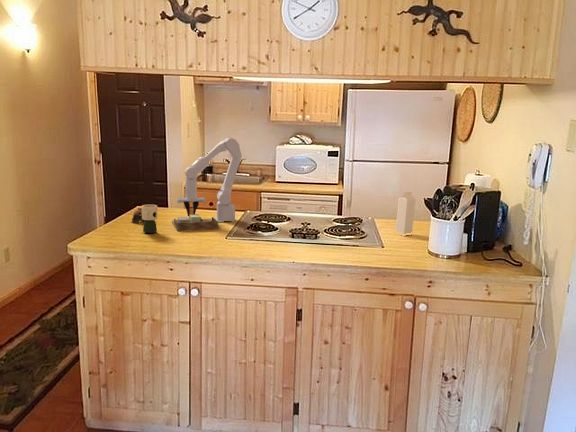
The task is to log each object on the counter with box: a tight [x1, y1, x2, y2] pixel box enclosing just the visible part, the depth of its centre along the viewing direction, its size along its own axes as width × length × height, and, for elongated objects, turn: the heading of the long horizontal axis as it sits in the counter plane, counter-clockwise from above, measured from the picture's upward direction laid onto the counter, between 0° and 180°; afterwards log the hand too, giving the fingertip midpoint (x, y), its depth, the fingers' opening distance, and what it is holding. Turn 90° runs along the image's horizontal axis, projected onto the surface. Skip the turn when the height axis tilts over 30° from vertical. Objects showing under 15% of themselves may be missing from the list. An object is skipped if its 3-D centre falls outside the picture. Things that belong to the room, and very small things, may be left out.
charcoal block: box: [177, 216, 189, 223], centre depth 249 cm, size 5×6×4 cm
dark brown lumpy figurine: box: [131, 207, 145, 225], centre depth 257 cm, size 12×10×8 cm
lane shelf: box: [171, 216, 220, 232], centre depth 255 cm, size 20×18×4 cm
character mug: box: [141, 204, 158, 234], centre depth 237 cm, size 11×7×13 cm, turn 0°
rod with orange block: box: [188, 208, 202, 222], centre depth 258 cm, size 5×14×5 cm, turn 21°
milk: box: [395, 191, 417, 234], centre depth 253 cm, size 6×6×22 cm
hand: (191, 215), depth 263 cm, fingers closed on rod with orange block, 2 cm apart
